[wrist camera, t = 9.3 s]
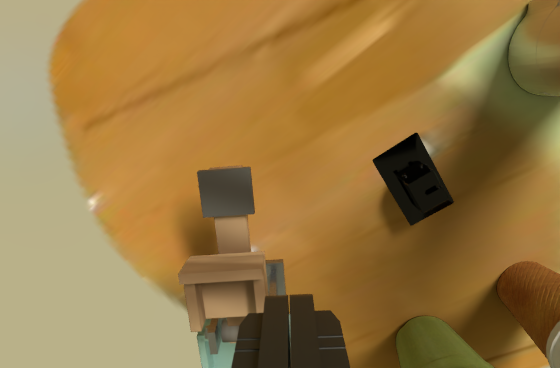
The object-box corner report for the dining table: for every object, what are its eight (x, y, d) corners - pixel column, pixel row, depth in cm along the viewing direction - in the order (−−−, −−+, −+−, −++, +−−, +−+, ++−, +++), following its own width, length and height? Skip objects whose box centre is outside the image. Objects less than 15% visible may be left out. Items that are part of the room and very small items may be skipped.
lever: (275, 330, 34) (273, 394, 26) (216, 334, 34) (197, 398, 27) (260, 163, 30) (253, 182, 23) (194, 168, 30) (164, 188, 23)
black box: (463, 208, 39) (486, 222, 35) (407, 239, 41) (422, 257, 36) (415, 116, 37) (433, 120, 32) (356, 152, 38) (366, 160, 33)
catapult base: (286, 302, 42) (288, 370, 32) (222, 306, 42) (204, 375, 32) (282, 259, 41) (283, 315, 30) (216, 263, 41) (195, 321, 31)
